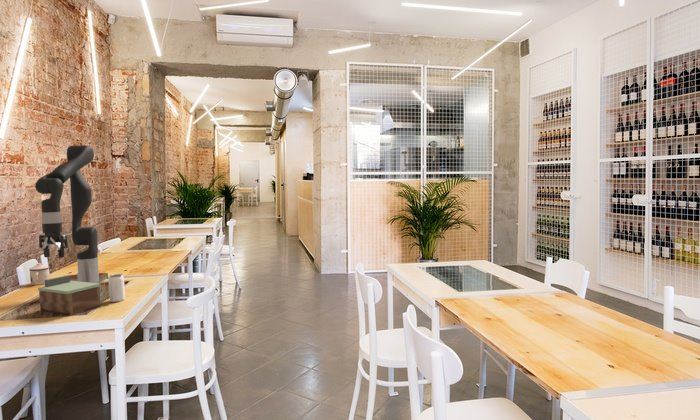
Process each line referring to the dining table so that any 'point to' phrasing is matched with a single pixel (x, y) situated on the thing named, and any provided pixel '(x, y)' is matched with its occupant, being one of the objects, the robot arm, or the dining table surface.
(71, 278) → the hardcover book
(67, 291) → the lid
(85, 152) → the robot arm
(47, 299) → the chest
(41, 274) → the teacup with lid
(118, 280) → the can
